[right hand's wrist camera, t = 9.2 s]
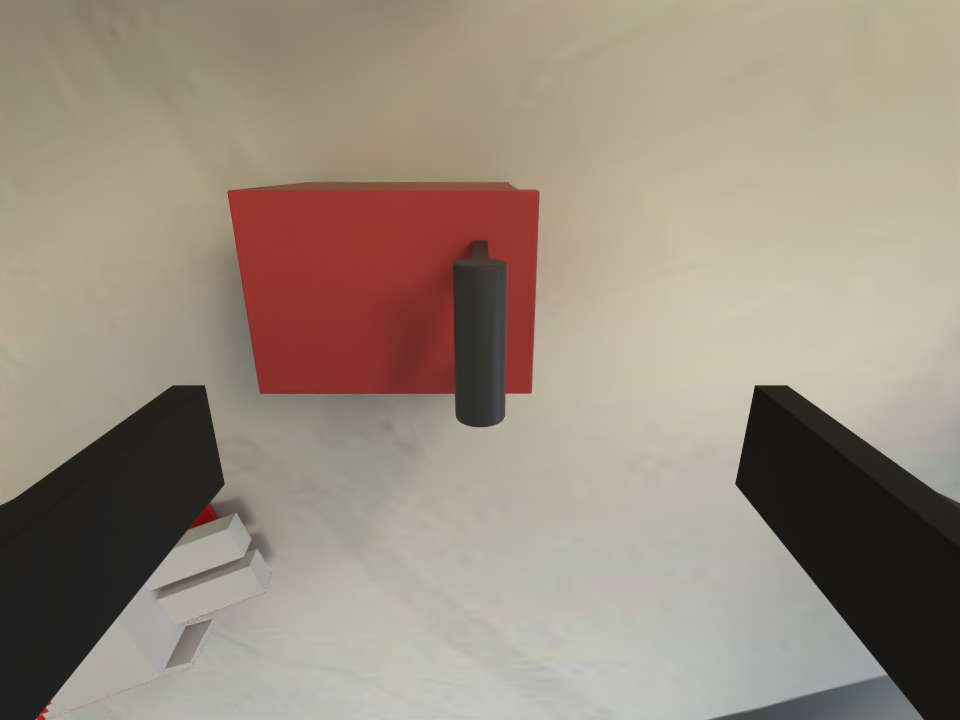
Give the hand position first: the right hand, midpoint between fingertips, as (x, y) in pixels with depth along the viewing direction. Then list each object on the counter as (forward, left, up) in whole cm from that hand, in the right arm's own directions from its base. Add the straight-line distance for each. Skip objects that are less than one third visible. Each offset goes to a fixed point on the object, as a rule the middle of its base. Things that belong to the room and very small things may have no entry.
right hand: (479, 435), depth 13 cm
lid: (+2, -4, -15) cm, 16 cm away
